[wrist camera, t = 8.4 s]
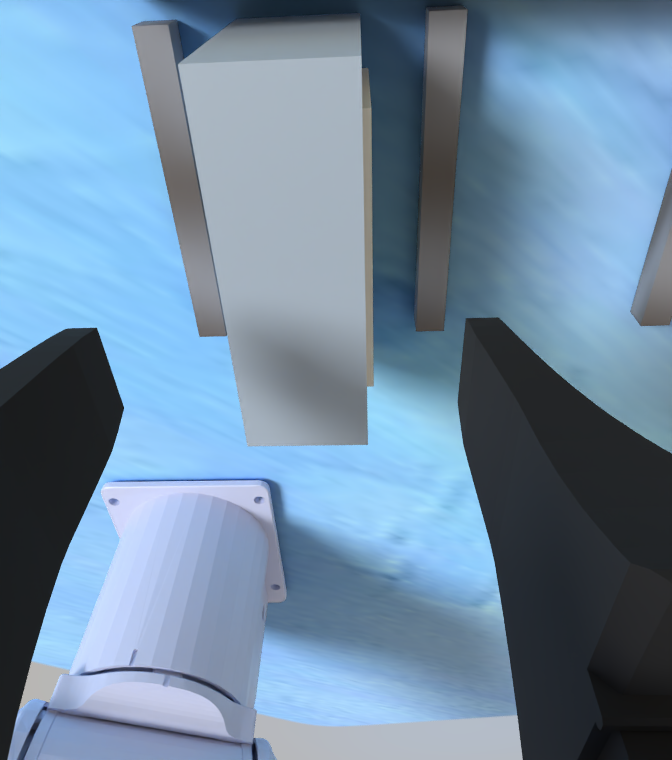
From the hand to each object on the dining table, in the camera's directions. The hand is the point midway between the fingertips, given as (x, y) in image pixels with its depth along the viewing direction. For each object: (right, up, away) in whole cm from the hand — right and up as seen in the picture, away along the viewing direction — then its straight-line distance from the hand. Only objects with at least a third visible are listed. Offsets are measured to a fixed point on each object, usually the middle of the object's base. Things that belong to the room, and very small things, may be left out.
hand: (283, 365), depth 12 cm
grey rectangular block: (0, +6, +8) cm, 10 cm away
